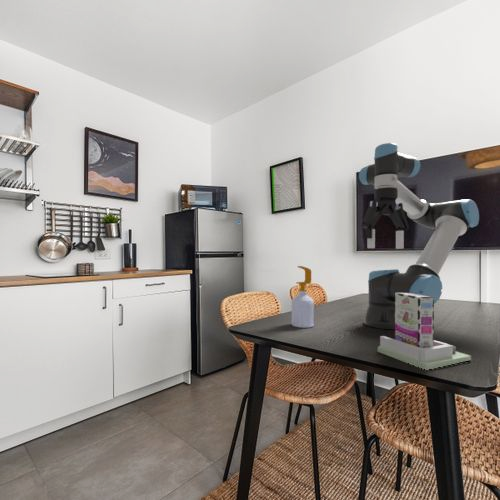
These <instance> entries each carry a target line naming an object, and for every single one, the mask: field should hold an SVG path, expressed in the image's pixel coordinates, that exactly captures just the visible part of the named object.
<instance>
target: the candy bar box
mask: <svg viewBox="0 0 500 500" xmlns="http://www.w3.org/2000/svg"><path fill="white" fill-rule="evenodd" d="M434 324H435V304H434V297H429V296H424V295H418V294H412V293H395V329H394V339H395V340H398V341H401V342H404V343H407V344H410V345H414V346H417V347H420V348H428V347H434V340H435V338H434V335H435V334H434V332H435V331H434V329H435V326H434Z"/></svg>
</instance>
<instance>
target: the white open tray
mask: <svg viewBox="0 0 500 500" xmlns="http://www.w3.org/2000/svg"><path fill="white" fill-rule="evenodd" d="M456 348H457V347H456V345H453V344H449V343H446V342H444V341H443V342H442V341H438V340H435V339H434V347H428V348H420V347H417V346H414V345H410V344H407V343H404V342H401V341H398V340H395V338H391V337H388V336H385V335H381V336H379V346H377V352H378V353H380V354H382V355H386V356H387V357H391V358H393V359H396V360H398V361H401V362H403V363H406V364H408V363H409V365H410V366H413V365H414V367H416V368H418V367H419V369H421V368H422V369H421V370H424V369H425V370H424V371H426V370H427V371H430V370H429V369H432V370H435V369H434V368H436V369H439V368H438V367H441V368H444V367H443V366H446V367H448V366H447V365H451V364H455V363H459V362H463V361H468V360H471V361H472V356H471V355H469V354H466V353H464V352H459V351H456ZM455 365H456V364H455ZM451 366H452V365H451Z"/></svg>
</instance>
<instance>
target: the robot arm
mask: <svg viewBox="0 0 500 500" xmlns="http://www.w3.org/2000/svg"><path fill="white" fill-rule="evenodd" d="M373 160H374V163H372V164H369V165H366V166H364V167H362V168H361V169H360V171H359V173H358V179H359V181H360V183H361V184H362V185H365V186H368V185H369V186H370V185H372V186H374V187H373V188H374V191H373V192H374V195H373V197H374V199H373V200H371V201H369V202H368V207H367V210H366V212H365V215H364V217H363V220H362V221H361V222H362V223H361V228H363V230H365V231H366V235H365V237H366V241H367V244H366V245H367V246H366V247H367V249H375V248H376V229H375V228H374V227H375V226H376V224H377V223H378V221H379V220H380V218H381V217H382V216H383V215H384V216H388V217H389V218H390V220H391V221H392V223H393V225H394V226H395V228H396V230H395V250H399V249H400V250H401V249H404V248H405V246H404V243H405V242H404V241H405V231H408V230H409V229H410V226H409V223H408V220H407V217H408V218H409V219H411V220H412V221H413V222H414V223H417V224H418V225H420V226H423V227H425V228H428V229H432V230H434V231H433V233H432V235H431V236H430V238H429V240H428V242H427V243H426V245H425V247H424V249H423V250H422V252H421V253H420V256H419V257H418V259H417V261H416V262H415V263H414V264H411V265H409V266H408V267H407V270H406V271H405V272H404V273H403V272H400V270H399V269H397V268H396V269H381V270H372V271H370V272H369V273H368V281H367V282H368V307H367V310H366V312H365V313H366V314H365V316H364V318H363V323H364V325H366V326H368V327H371V328H376V329H383V330H395V293H412V294H418V295H424V296H429V297H434V305H435V304H436V303H437V302H438V301H439V300H440V298H441V296H442V293H443V291H442V290H443V283H442V281H441V277H440V275H439V274H440V272H441V270H442V268H443V266H444V265H445V262H446V260H447V258H448V257H449V255H450V253H451V252H452V249H453V247H454V246H455V244H456V242H457V240H458V238H459V236H460V237H461V236H463V235H464V234H466V232H467V230H468V229H469V228H474V227H477V226H478V225H479V223H480V222H479V221H480V212H479V208H478V206H477V203H476V202H475V201H474V200H472V199H470V198H469V199H468V198H467V199H460V200H459V199H457V200H452V201H443V202H437V203H431V202H428V201H426V200H425V199H420V198H419V197H418V196H417V195H416V194H414V192H413V191H412V190H410V189H408V188H407V187H406V186H405V184H403V183H402V182H401V181H400V180H399V179H398V178H402V177H403V178H405V179H406V178H413V177H414V176H416V175H417V174H418V173H419V172H420V169H421V162H420V160H419V159H418V158H417V157H414V156H411V155H407V154H405V153H404V154H403V153H400V152H399V149H398V145H397V143H393V142H389V143H388V142H386V143H381V144H379V145H378V146H376V147H375V149H374V158H373ZM405 212H406V214H405ZM406 216H407V217H406Z"/></svg>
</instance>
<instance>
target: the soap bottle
mask: <svg viewBox="0 0 500 500" xmlns="http://www.w3.org/2000/svg"><path fill="white" fill-rule="evenodd" d="M297 268H298V269H302V270H304V281H296V282H295V283H296V284H299V286H300V288H299V289H298V295H296V296H294V297H293V298H292V300H291V326H293V327H295V328H300V329H301V328H302V329H304V328H305V329H306V328H307V329H309V328H312V327H314V324H315V321H314V319H315V314H314V313H315V305H314V303H315V302H314V300H313V298H312V297H310V296H309V295H307V294H308V293H307V292H308V291H307V289H306V288H305V287H306V286H307V284H311V283H312V270H311V269H310V268H308V267H305V266H303V265H302V266H301V265H298V266H297Z"/></svg>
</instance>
